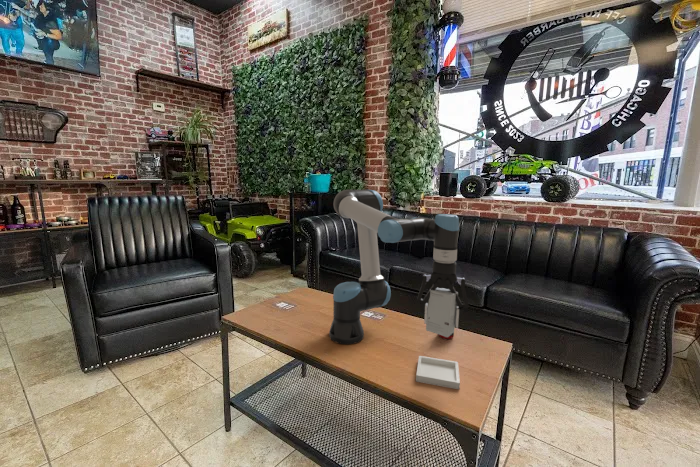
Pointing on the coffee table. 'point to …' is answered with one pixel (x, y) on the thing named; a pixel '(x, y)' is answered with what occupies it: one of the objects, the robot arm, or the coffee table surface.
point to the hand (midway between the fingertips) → (440, 324)
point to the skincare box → (441, 312)
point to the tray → (438, 372)
